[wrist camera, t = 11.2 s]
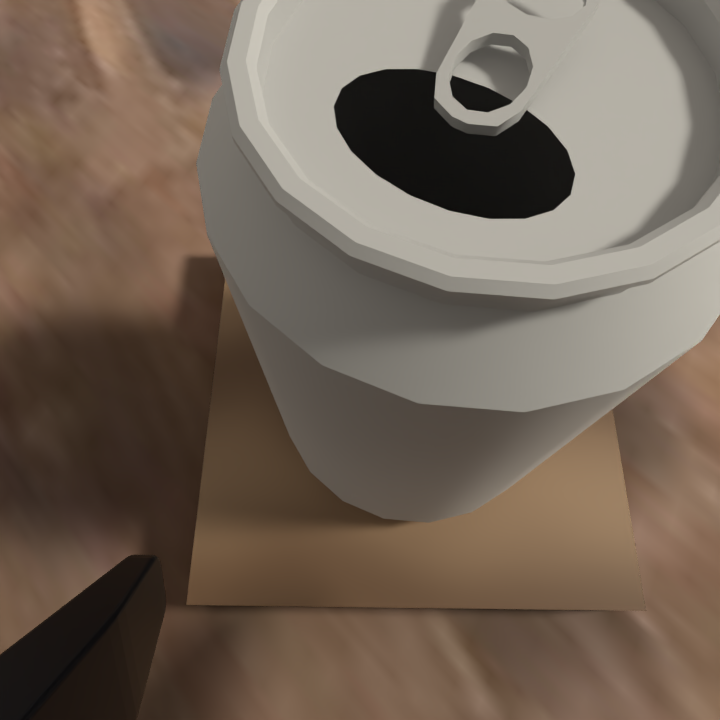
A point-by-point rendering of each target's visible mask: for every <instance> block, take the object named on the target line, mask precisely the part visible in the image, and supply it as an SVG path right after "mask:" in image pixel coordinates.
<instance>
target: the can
mask: <svg viewBox="0 0 720 720" xmlns="http://www.w3.org/2000/svg"><path fill="white" fill-rule="evenodd" d="M220 75H221V80H222V86H221V87H220V88H219V90H218V91H217V93H216V94H215V96H214V97H213V99H212V103H211V107H210V111H209V115H208V119H207V123H206V127H205V131H204V135H203V139H202V143H201V147H200V151H199V155H198V159H197V163H196V164H197V171H198V177H199V184H200V190H201V197H202V203H203V210H204V216H205V223H206V229H207V235H208V238H209V240H210V243H211V245H212V247H213V250H214V252H215V255H216V257H217V260H218V262H219V265H220V267H221V269H222V272H223V274H224V277H225V279H226V282H227V284H228V287H229V289H230V291H231V294H232V296H233V299H234V301H235V304H236V306H237V309H238V311H239V314H240V316H241V318H242V321H243V323H244V326H245V328H246V331H247V333H248V336H249V338H250V340H251V343H252V345H253V348H254V350H255V353H256V355H257V358H258V360H259V362H260V365H261V367H262V370H263V372H264V375H265V377H266V380H267V382H268V384H269V387H270V389H271V392H272V394H273V397H274V399H275V402H276V404H277V406H278V409H279V411H280V414H281V416H282V419H283V421H284V424H285V426H286V428H287V431H288V433H289V436H290V437H291V439H292V441H293V443H294V444H295V446H296V448H297V450H298V451H299V453H300V455H301V457H302V459H303V460H304V462H305V464H306V466H307V467H308V469H309V471H310V472H311V473H312V474H313V475H314V476H315V477H316V478H318V479H319V480H320V481H321V482H322V483H323V484H324V485H325V486H327V487H328V488H329V489H330V490H331V491H332V492H333V493H334V494H336V495H337V496H338V497H339V498H340V499H341V500H342V501H344V502H346V503H349V504H351V505H353V506H356V507H358V508H360V509H363V510H365V511H367V512H370V513H372V514H374V515H376V516H379V517H381V518H383V519H393V520H404V521H416V522H427V523H429V522H434V521H438V520H442V519H446V518H450V517H454V516H458V515H463V514H467V513H471V512H473V511H474V510H476V509H478V508H479V507H481V506H482V505H484V504H485V503H487V502H488V501H490V500H492V499H493V498H495V497H496V496H498V495H499V494H501V493H502V492H504V491H505V490H507V489H508V488H510V487H511V486H512V485H514V484H515V483H516V482H518V481H519V480H520V479H521V478H523V477H524V476H525V475H527V474H528V473H529V472H531V471H532V470H533V469H535V468H536V467H537V466H538V465H540V464H541V463H542V462H544V461H545V460H546V459H548V458H549V457H550V456H552V455H553V454H554V453H555V452H557V451H558V450H559V449H561V448H562V447H563V446H565V445H566V444H567V443H569V442H570V441H571V440H572V439H574V438H575V437H576V436H578V435H579V434H580V433H582V432H583V431H584V430H585V429H587V428H588V427H589V426H591V425H592V424H593V423H595V422H596V421H597V420H599V419H600V418H601V417H602V416H604V415H605V414H606V413H608V412H609V411H610V410H612V409H613V408H614V407H616V406H617V405H618V404H619V403H621V402H622V401H623V400H625V399H626V398H627V397H629V396H630V395H631V394H633V393H634V392H635V391H636V390H638V389H639V388H640V387H642V386H643V385H644V384H646V383H647V382H648V381H650V380H651V379H652V378H653V377H655V376H656V375H657V374H659V373H660V372H661V371H663V370H664V369H665V368H667V367H668V366H669V365H670V364H672V363H673V362H674V361H676V360H677V359H678V358H680V357H681V356H682V355H683V354H685V353H686V352H687V351H689V350H690V349H691V348H693V347H694V346H695V345H697V344H698V343H699V342H700V341H702V339H703V338H704V336H705V335H706V333H707V332H708V331H709V329H710V328H711V326H712V325H713V323H714V322H715V321H716V319H717V318H718V316H719V315H720V0H241V1H240V3H239V4H238V5H237V7H236V8H235V10H234V13H233V17H232V21H231V25H230V29H229V33H228V37H227V41H226V45H225V49H224V53H223V57H222V61H221V65H220Z"/></svg>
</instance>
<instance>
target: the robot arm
mask: <svg viewBox="0 0 720 720" xmlns="http://www.w3.org/2000/svg"><path fill="white" fill-rule="evenodd" d="M165 607H166V595H165V588H164V582H163V575H162V569H161V563H160V560H159V558H158V557H157V556H155V555H131V556H128V557H127V558H125V559H124V560H123V561H121V562H120V563H119V564H117V565H116V566H115V567H114V568H112V569H111V570H110V571H108V572H107V573H106V574H104V575H103V576H102V577H101V578H99V579H98V580H97V581H95V582H94V583H93V584H91V585H90V586H89V587H88V588H86V589H85V590H84V591H82V592H81V593H80V594H78V595H77V596H76V597H75V598H73V599H72V600H71V601H69V602H68V603H67V604H65V605H64V606H63V607H62V608H60V609H59V610H58V611H56V612H55V613H54V614H52V615H51V616H50V617H48V618H47V619H46V620H45V621H43V622H42V623H41V624H39V625H38V626H37V627H35V628H34V629H33V630H32V631H30V632H29V633H28V634H26V635H25V636H24V637H22V638H21V639H20V640H19V641H17V642H16V643H15V644H13V645H12V646H11V647H9V648H8V649H7V650H6V651H4V652H3V653H2V654H0V720H136V719H137V715H138V712H139V708H140V705H141V701H142V698H143V694H144V690H145V686H146V682H147V679H148V675H149V671H150V667H151V663H152V659H153V656H154V652H155V648H156V644H157V640H158V637H159V633H160V629H161V625H162V621H163V617H164V613H165Z"/></svg>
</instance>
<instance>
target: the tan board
mask: <svg viewBox="0 0 720 720" xmlns="http://www.w3.org/2000/svg"><path fill="white" fill-rule="evenodd" d="M186 605H232V606H310V607H388V608H467V609H545V610H624V611H646V607H645V601H644V595H643V589H642V583H641V577H640V571H639V565H638V559H637V553H636V547H635V541H634V535H633V529H632V523H631V517H630V511H629V505H628V499H627V493H626V487H625V481H624V475H623V469H622V463H621V457H620V451H619V445H618V439H617V433H616V427H615V421H614V415H613V409H612V410H610V411H609V412H608V413H606V414H605V415H604V416H602V417H601V418H600V419H599V420H597V421H596V422H595V423H593V424H592V425H591V426H589V427H588V428H587V429H585V430H584V431H583V432H582V433H580V434H579V435H578V436H576V437H575V438H574V439H572V440H571V441H570V442H569V443H567V444H566V445H565V446H563V447H562V448H561V449H559V450H558V451H557V452H555V453H554V454H553V455H552V456H550V457H549V458H548V459H546V460H545V461H544V462H542V463H541V464H540V465H538V466H537V467H536V468H535V469H533V470H532V471H531V472H529V473H528V474H527V475H525V476H524V477H523V478H521V479H520V480H519V481H518V482H516V483H515V484H514V485H512V486H511V487H510V488H508V489H507V490H505V491H504V492H502V493H501V494H499V495H498V496H496V497H495V498H493V499H492V500H490V501H488V502H487V503H485V504H484V505H482V506H481V507H479V508H478V509H476V510H474V511H473V512H471V513H467V514H463V515H458V516H454V517H450V518H446V519H442V520H438V521H434V522H429V523H427V522H416V521H404V520H393V519H383V518H381V517H379V516H376V515H374V514H372V513H370V512H367V511H365V510H363V509H360V508H358V507H356V506H353V505H351V504H349V503H346V502H344V501H342V500H341V499H340V498H339V497H338V496H337V495H336V494H334V493H333V492H332V491H331V490H330V489H329V488H328V487H327V486H325V485H324V484H323V483H322V482H321V481H320V480H319V479H318V478H316V477H315V476H314V475H313V474H312V473H311V472H310V471H309V469H308V467H307V466H306V464H305V462H304V460H303V459H302V457H301V455H300V453H299V451H298V450H297V448H296V446H295V444H294V443H293V441H292V439H291V437H290V436H289V433H288V431H287V428H286V426H285V424H284V421H283V419H282V416H281V414H280V411H279V409H278V406H277V404H276V402H275V399H274V397H273V394H272V392H271V389H270V387H269V384H268V382H267V380H266V377H265V375H264V372H263V370H262V367H261V365H260V362H259V360H258V358H257V355H256V353H255V350H254V348H253V345H252V343H251V340H250V338H249V336H248V333H247V331H246V328H245V326H244V323H243V321H242V318H241V316H240V314H239V311H238V309H237V306H236V304H235V301H234V299H233V296H232V294H231V291H230V289H229V287H228V284H227V282H226V279H225V283H224V292H223V300H222V309H221V317H220V325H219V334H218V342H217V351H216V359H215V367H214V376H213V384H212V393H211V401H210V409H209V418H208V426H207V435H206V443H205V451H204V460H203V468H202V477H201V485H200V493H199V502H198V510H197V519H196V527H195V535H194V544H193V552H192V561H191V569H190V577H189V586H188V594H187V603H186Z"/></svg>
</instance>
